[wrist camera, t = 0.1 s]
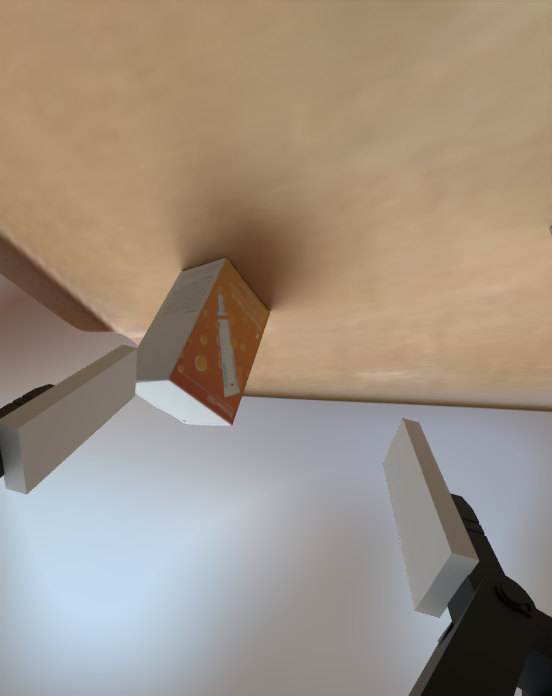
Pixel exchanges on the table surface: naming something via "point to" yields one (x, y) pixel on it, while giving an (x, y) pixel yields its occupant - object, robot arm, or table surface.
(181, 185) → the table surface
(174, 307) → the small box
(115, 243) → the table surface
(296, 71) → the table surface
